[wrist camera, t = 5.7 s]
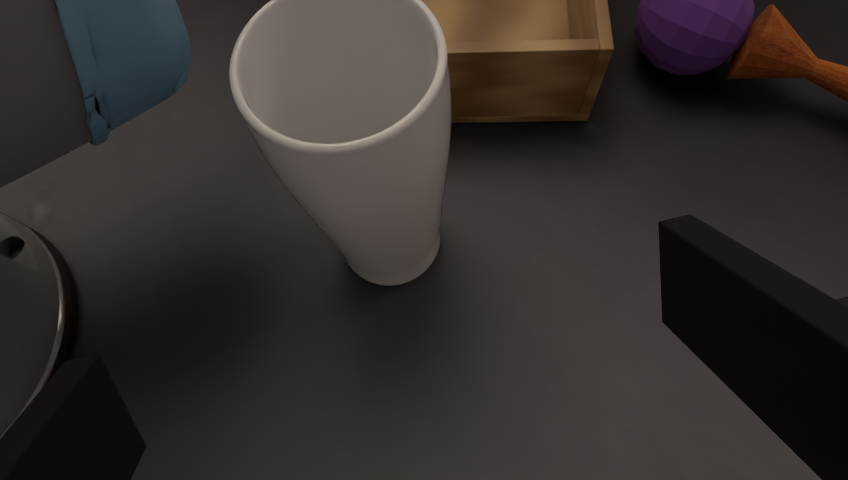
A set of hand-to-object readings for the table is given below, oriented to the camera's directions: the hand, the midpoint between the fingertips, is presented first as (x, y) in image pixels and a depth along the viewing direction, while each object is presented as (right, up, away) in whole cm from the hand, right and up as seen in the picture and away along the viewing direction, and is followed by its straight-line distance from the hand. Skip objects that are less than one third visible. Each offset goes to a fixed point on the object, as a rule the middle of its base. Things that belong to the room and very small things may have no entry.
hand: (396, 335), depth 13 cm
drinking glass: (-1, +2, +18) cm, 18 cm away
